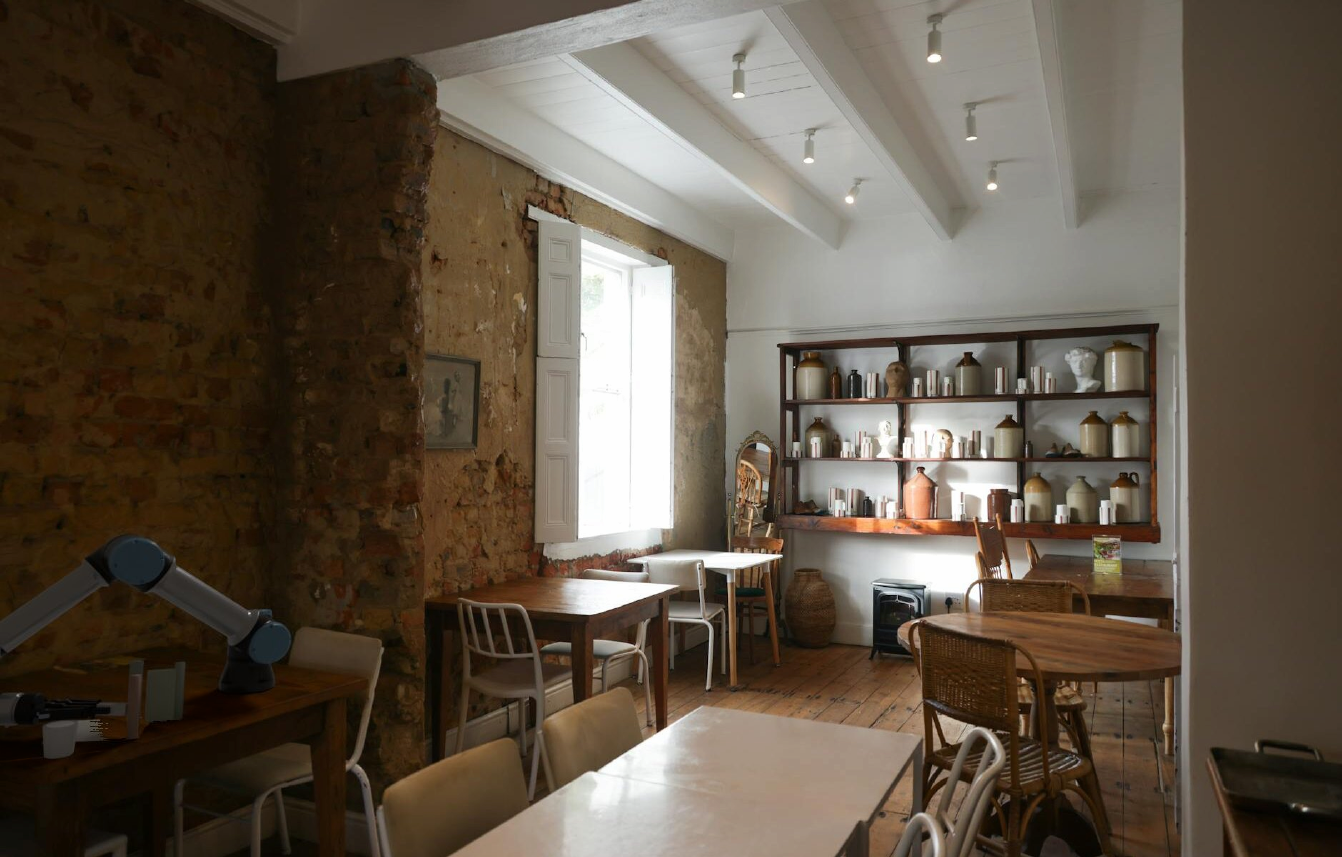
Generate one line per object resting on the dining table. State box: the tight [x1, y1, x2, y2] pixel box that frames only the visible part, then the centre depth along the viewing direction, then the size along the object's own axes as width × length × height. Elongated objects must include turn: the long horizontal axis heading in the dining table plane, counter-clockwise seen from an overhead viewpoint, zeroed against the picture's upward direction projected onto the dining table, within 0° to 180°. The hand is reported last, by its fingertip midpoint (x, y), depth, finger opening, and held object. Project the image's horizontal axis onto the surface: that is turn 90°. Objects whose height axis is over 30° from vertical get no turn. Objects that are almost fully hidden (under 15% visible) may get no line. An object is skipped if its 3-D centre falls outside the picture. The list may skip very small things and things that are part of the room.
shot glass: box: [42, 719, 79, 760], centre depth 203 cm, size 7×7×7 cm
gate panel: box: [125, 674, 141, 740], centre depth 219 cm, size 13×2×15 cm, turn 30°
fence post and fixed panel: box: [126, 659, 186, 723], centre depth 228 cm, size 12×3×16 cm, turn 118°
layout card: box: [41, 719, 108, 745], centre depth 220 cm, size 20×18×1 cm
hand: (126, 709), depth 215 cm, fingers closed
